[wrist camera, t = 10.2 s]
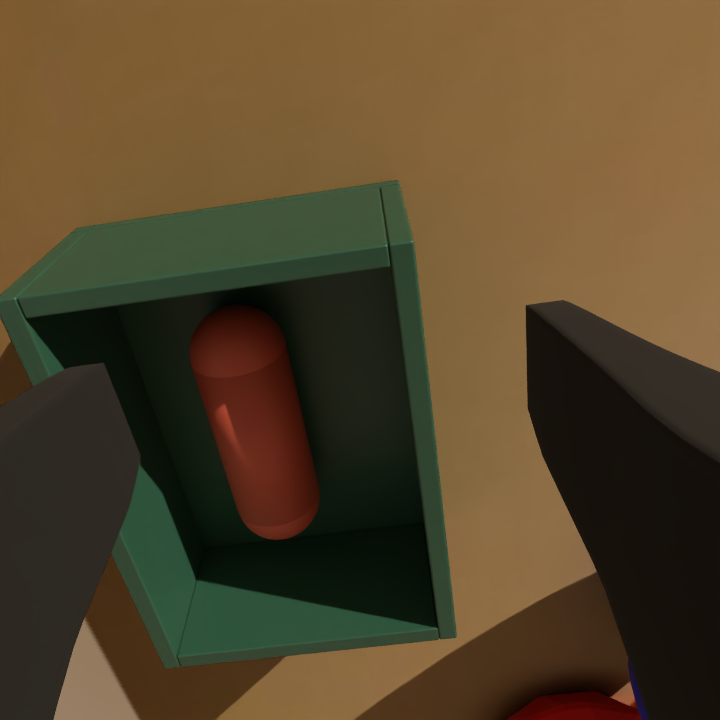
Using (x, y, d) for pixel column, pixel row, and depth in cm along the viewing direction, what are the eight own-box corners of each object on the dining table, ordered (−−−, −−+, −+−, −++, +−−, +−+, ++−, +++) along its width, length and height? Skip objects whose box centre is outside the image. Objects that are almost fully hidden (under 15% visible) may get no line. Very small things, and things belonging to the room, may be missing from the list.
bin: (196, 550, 27) (164, 669, 23) (75, 227, 20) (-9, 301, 16) (437, 522, 27) (457, 638, 22) (398, 179, 20) (413, 240, 15)
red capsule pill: (339, 506, 25) (303, 566, 22) (272, 493, 26) (231, 548, 24) (293, 290, 20) (242, 336, 18) (213, 286, 21) (156, 329, 19)
